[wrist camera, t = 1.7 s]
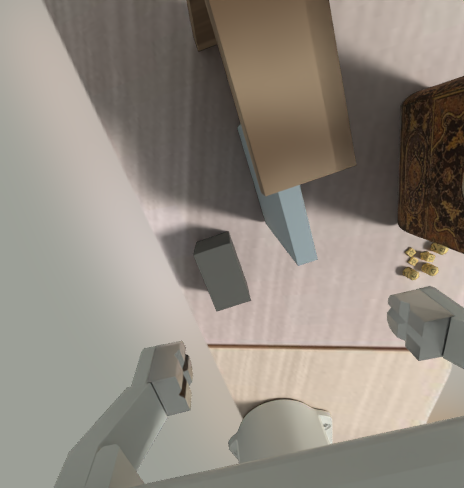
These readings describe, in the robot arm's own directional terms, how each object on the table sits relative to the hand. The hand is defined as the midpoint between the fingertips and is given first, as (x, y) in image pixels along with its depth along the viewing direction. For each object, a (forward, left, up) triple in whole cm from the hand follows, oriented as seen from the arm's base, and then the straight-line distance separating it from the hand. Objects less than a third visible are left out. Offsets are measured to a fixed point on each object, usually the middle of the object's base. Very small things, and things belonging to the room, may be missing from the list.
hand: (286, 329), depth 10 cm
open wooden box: (+12, -4, -24) cm, 27 cm away
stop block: (-6, +4, -25) cm, 26 cm away
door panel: (+3, -4, -24) cm, 25 cm away
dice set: (-16, -23, -25) cm, 37 cm away
